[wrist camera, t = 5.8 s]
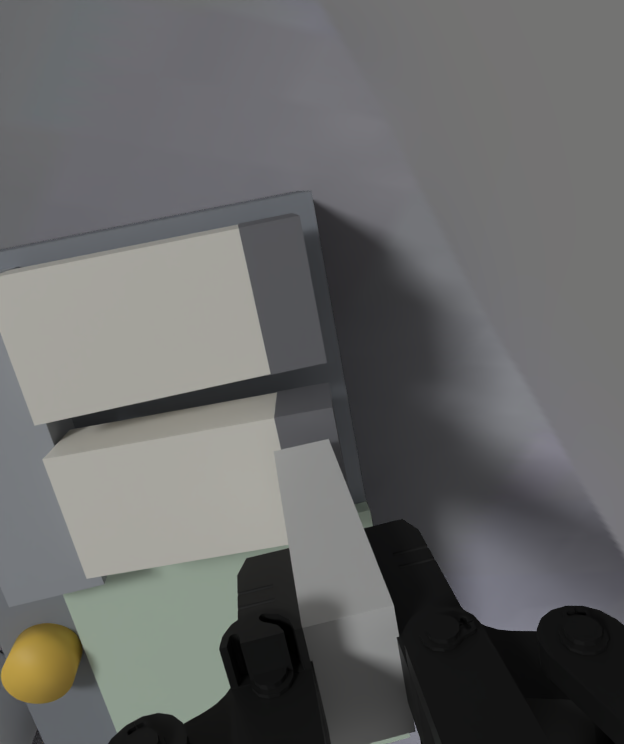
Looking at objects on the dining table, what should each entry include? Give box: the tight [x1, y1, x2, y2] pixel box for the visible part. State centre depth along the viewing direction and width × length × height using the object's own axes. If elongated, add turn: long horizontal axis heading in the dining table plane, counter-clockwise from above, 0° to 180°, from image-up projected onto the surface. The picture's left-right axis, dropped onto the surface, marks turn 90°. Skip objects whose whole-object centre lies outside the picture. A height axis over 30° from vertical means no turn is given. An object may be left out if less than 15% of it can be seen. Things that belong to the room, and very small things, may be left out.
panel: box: [0, 191, 410, 744], centre depth 21 cm, size 14×22×7 cm, turn 11°
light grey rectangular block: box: [42, 382, 349, 579], centre depth 17 cm, size 2×4×8 cm
